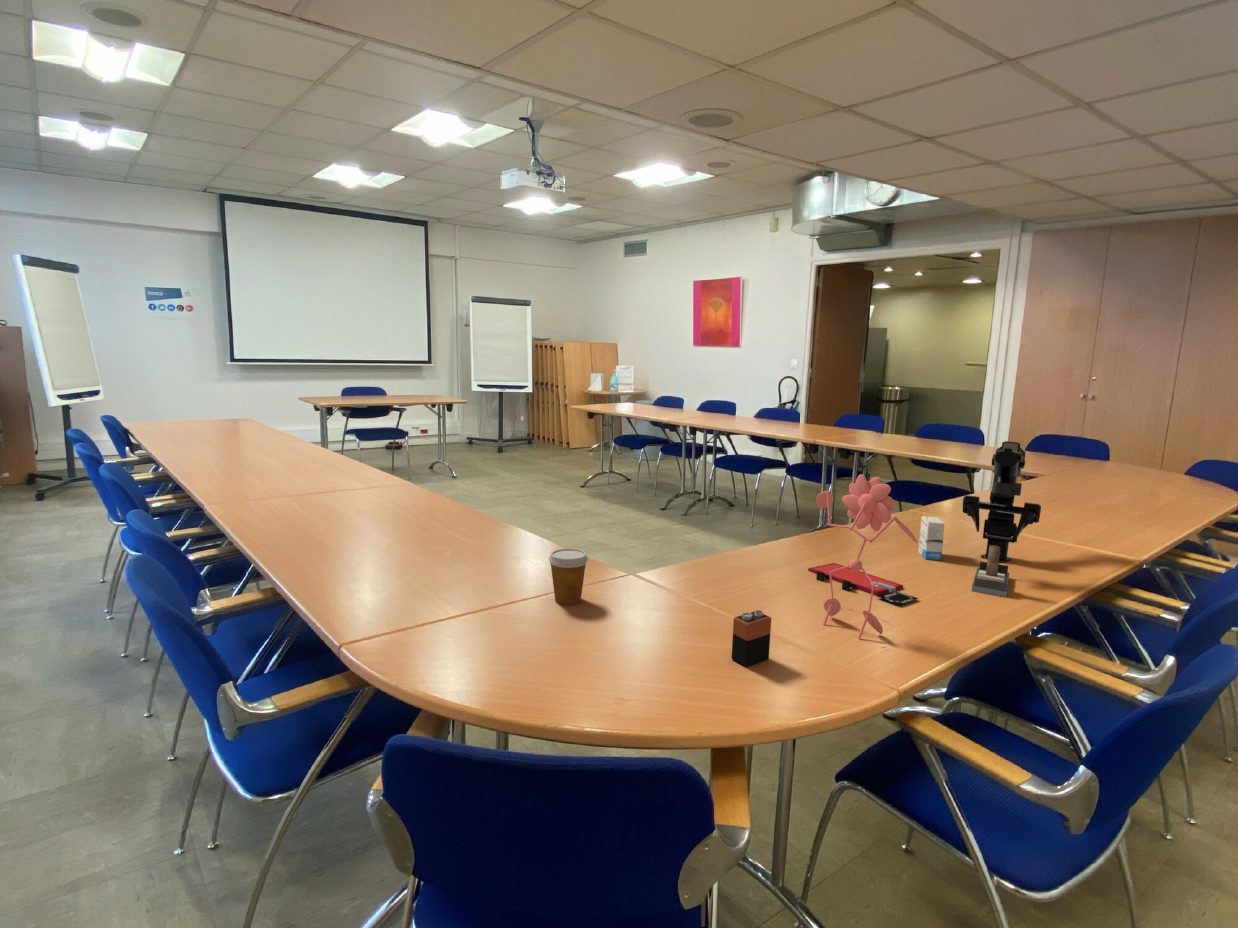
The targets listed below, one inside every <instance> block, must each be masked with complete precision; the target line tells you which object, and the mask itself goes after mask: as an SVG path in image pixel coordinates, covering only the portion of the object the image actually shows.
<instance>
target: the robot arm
mask: <svg viewBox="0 0 1238 928" xmlns="http://www.w3.org/2000/svg"><path fill="white" fill-rule="evenodd" d="M991 467H994V469H993V479H992V486H991V490H990V494H989V502H986V501H980V498H981V497H980V496H977V495H975V496H974V495H969V494H968V495H967V494H966V495H965V496H963V498H962V513H964V514H966V515H967V516H968V517H971V519H972V521H973V523H974V526H975V529H976V532H977V533H979V532H980V510H987V511H989V512H988V514H987V519H986V518H984V522H983V523H984V525H983V530H982V531H983V532H982V539H984V540H985V539H986V540H987V542H986V550H985V554H981V555H980V558H983V559H987V560H988V552H989V546H991V545H993V546H999V547H1000V556H999V563H1004V562H1008V561H1011V560H1012V559H1013V557H1009V556H1008V552H1009V545H1010V543H1011V544H1014V543H1017V542H1018V537H1020V534H1021V533H1022V532H1023V531H1024V529H1025V528H1027V526H1028V525H1033V524H1034V523H1035V524H1037V523H1039V522H1040V516H1041V511H1042V506H1041V505H1040V503H1036V502H1035V503H1034V502H1033V503H1032V502H1026V501H1025V502H1024V506H1016V505H1015V506H1014V502H1015V496H1017V497H1019V496H1021V492H1022V485H1023V483H1022V482H1021V483H1020V482H1017V480H1018V478H1019V477H1020V476H1021V472H1022V471H1021V470H1023V469H1024V468H1025V467H1026V451H1025V450H1023V448H1022V447H1021V443H1020V442H1017V441H1007V440H1005V441H1002V442H1001V446H1000V447H998V448H997V449H995V453H993V455H992V459H991ZM1016 515H1020V517H1019V520H1018V524H1017V523H1015V516H1016Z"/></svg>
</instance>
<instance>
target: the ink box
mask: <svg viewBox="0 0 1238 928" xmlns="http://www.w3.org/2000/svg"><path fill="white" fill-rule="evenodd" d="M920 521H921V522H920V531H919V532H920V533H919V543H918V553H919V554H920V555H921V556H922V557H923V558H924V559H925V560H932V561H933V560H935V561H942V558H943V557H942V555H943V545H944V534H945V523H944V522H943V521H942V520H941V519H940V518H939V517H937V516H925V515H922V516H921V520H920Z"/></svg>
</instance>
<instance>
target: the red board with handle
mask: <svg viewBox="0 0 1238 928" xmlns="http://www.w3.org/2000/svg"><path fill="white" fill-rule="evenodd" d="M842 567H845V565H842V564H839V563H835V562H832V563H827V564H822V565H818V566H813V567H809V568H807V572H809V571H810V572H809V573H812V572H813V573H812V574H815V575H816V577H815V578H816V579H815V580H817V581H819V582H821V583H822V582H825V579H827V580H830V575H829V572H830V571H832V570H836V569H839V568H842ZM867 575H868V576H869V577H870V579H871V580H872V581H873V583H874V591H873V595H875V596H876V597H877V598H880V599H883V600H886V601H888V602H892V603H895V604H897V605H901V604H902V605H903V604H905V603H908V602H912V601H915V600H919V597H916V596H915V597H914V596H912V595H910V594H907V593H904V592H901V591H899V590H902V589H904V584H901V583H898V582H895V581H892V580H889V579H885V578H882V577H879V576H876V575H873V574H870V573H867ZM831 577H832V581H834V582H837V583H840V584H841V590H843V591H845V592H850V591H851V588H854V589H857V590H860V591H862V592H866V593H869V594H871V593H872V586H873V584H872V583H871V581H870V580H869V579H868V577H867V576H866V575H865V573H864V572H863V571H862V570H859V571H854V570H852V569H851V568H850V567H847V568H844V569H841V570H838V571H834V572H831Z"/></svg>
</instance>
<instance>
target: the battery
mask: <svg viewBox="0 0 1238 928" xmlns="http://www.w3.org/2000/svg"><path fill="white" fill-rule="evenodd" d="M771 628H772V617H771V616H770V615H767V614H764V611H763V610H759V609H757V610H755V611H752V612H742V614H741V615H738V616H734V618H733V624H732V641H731V642H732V643H731V645H732V646H731V660H733V661H734V660H735V661H734V662H737V663H738V664H739V665H742V666H743V667H746V668H747V667H750V666H752V665H755V663H756V664H758V662H759V663H761V662H764V661H766V660H768V659H769V658H770V646H771Z"/></svg>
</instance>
